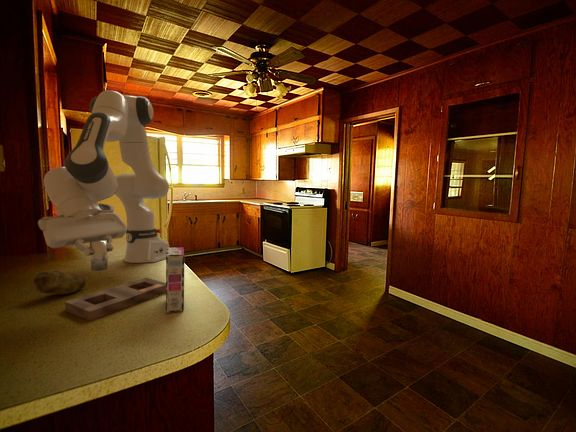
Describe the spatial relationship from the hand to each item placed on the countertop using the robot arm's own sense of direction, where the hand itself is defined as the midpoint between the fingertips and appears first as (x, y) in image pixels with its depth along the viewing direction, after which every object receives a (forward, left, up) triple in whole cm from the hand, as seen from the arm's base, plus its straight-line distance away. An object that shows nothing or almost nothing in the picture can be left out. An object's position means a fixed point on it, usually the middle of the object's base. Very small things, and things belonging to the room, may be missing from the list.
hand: (100, 252), depth 82 cm
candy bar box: (-12, +15, -16) cm, 26 cm away
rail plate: (-6, -1, -16) cm, 17 cm away
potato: (+1, -21, -16) cm, 26 cm away
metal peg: (0, -1, -5) cm, 5 cm away
